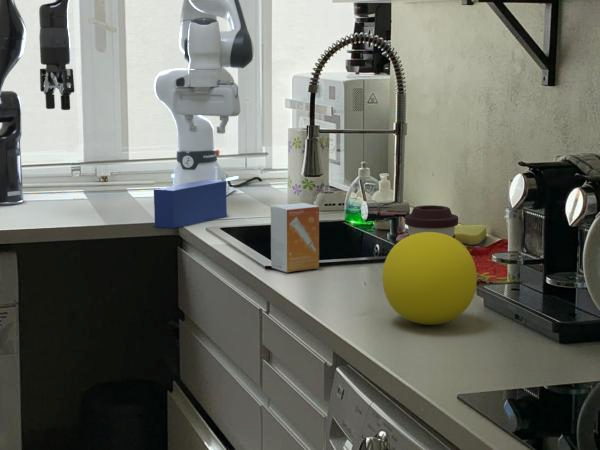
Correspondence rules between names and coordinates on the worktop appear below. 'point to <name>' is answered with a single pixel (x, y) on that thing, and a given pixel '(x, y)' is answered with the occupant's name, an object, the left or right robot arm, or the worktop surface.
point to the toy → (429, 278)
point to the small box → (295, 237)
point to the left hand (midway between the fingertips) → (58, 109)
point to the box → (190, 203)
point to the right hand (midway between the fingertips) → (206, 132)
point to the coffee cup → (431, 220)
